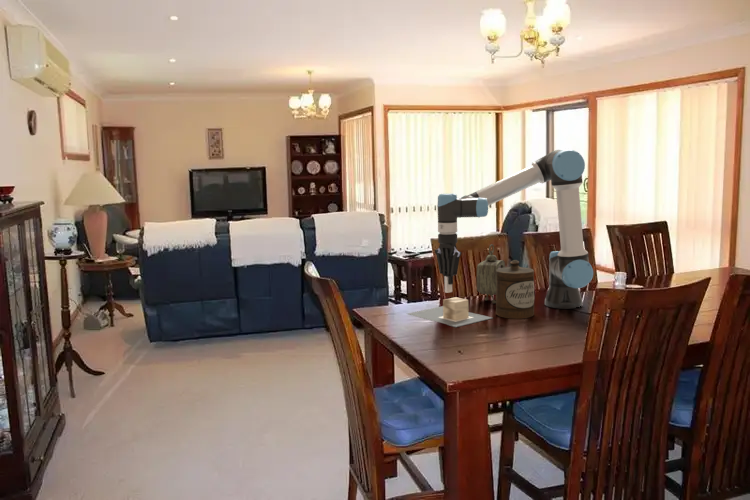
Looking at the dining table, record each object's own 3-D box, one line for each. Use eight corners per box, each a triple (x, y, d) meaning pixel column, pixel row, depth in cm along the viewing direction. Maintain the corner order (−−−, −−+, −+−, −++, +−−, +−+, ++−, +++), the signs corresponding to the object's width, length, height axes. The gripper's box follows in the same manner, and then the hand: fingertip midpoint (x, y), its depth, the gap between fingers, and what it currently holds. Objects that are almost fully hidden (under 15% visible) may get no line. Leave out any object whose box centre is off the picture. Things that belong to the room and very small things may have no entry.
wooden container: (512, 320, 251) (512, 264, 248) (488, 313, 264) (488, 259, 261) (542, 315, 258) (542, 260, 255) (517, 308, 271) (517, 256, 268)
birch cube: (455, 297, 262) (456, 314, 263) (443, 299, 258) (443, 317, 259) (468, 299, 256) (468, 317, 257) (455, 302, 252) (455, 320, 253)
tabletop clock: (496, 305, 279) (496, 246, 275) (476, 303, 283) (475, 246, 279) (505, 298, 292) (505, 242, 288) (485, 296, 295) (485, 242, 292)
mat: (492, 318, 256) (492, 317, 256) (455, 327, 244) (455, 326, 244) (442, 306, 278) (442, 306, 278) (406, 314, 266) (406, 313, 266)
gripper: (429, 232, 259) (430, 291, 263) (452, 235, 249) (453, 295, 252) (443, 231, 264) (444, 288, 267) (466, 233, 254) (466, 293, 257)
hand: (448, 292), depth 260 cm, fingers closed
